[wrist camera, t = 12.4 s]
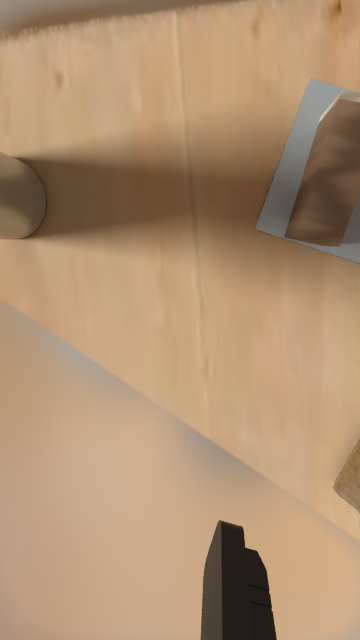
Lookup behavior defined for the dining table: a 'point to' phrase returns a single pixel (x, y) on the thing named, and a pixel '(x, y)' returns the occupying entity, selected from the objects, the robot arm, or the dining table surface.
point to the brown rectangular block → (329, 176)
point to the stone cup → (350, 479)
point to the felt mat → (291, 167)
